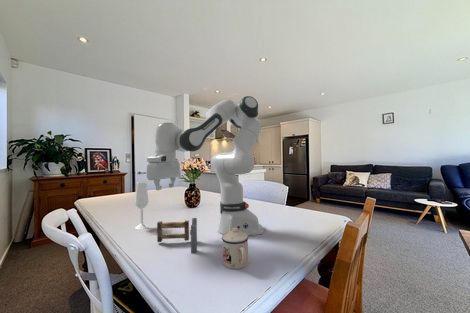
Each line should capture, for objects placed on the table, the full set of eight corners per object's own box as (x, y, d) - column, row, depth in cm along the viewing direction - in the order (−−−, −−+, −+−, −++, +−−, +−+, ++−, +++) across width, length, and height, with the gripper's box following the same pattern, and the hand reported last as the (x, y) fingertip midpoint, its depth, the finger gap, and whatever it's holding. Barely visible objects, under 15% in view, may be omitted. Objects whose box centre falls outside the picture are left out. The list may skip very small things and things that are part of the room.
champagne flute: (149, 227, 104) (149, 182, 104) (135, 230, 100) (135, 183, 100) (147, 224, 109) (147, 181, 110) (134, 226, 106) (133, 182, 106)
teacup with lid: (218, 259, 70) (218, 226, 70) (241, 253, 73) (241, 222, 73) (231, 277, 58) (230, 238, 59) (258, 270, 62) (257, 233, 62)
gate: (189, 239, 86) (189, 220, 86) (188, 241, 83) (188, 222, 83) (158, 240, 85) (158, 221, 85) (156, 243, 82) (156, 223, 83)
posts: (199, 240, 86) (199, 217, 86) (196, 252, 75) (196, 226, 75) (192, 240, 86) (192, 217, 86) (188, 253, 74) (187, 226, 75)
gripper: (172, 158, 100) (172, 185, 100) (143, 157, 80) (143, 191, 80) (183, 158, 98) (183, 186, 98) (157, 157, 79) (156, 192, 78)
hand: (165, 188), depth 89 cm, fingers open, 8 cm apart
